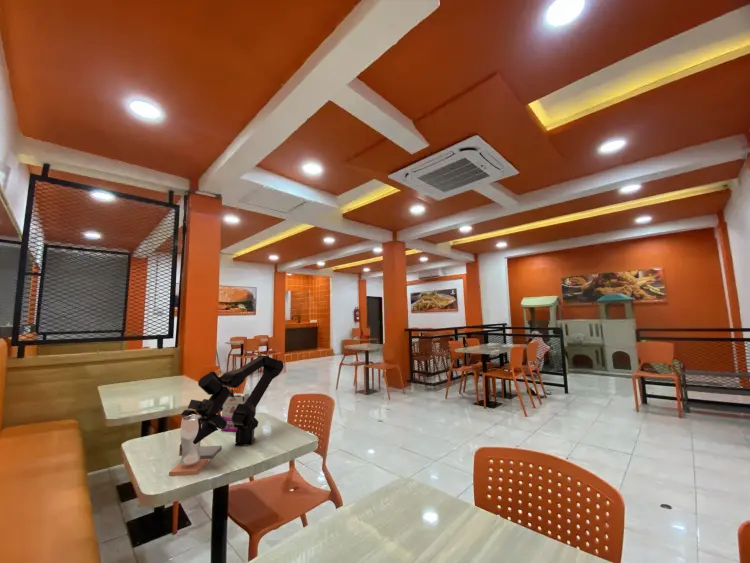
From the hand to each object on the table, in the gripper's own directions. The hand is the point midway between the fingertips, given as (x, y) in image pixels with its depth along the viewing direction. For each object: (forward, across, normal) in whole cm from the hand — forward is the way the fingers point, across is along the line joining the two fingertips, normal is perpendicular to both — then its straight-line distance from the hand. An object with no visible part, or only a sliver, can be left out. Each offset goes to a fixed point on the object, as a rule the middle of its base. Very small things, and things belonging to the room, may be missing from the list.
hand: (187, 442), depth 111 cm
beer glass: (+4, 0, +6) cm, 7 cm away
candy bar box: (-18, -17, +32) cm, 40 cm away
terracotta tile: (+6, 0, +7) cm, 9 cm away
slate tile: (-2, -6, +15) cm, 16 cm away
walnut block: (0, -14, +13) cm, 19 cm away
